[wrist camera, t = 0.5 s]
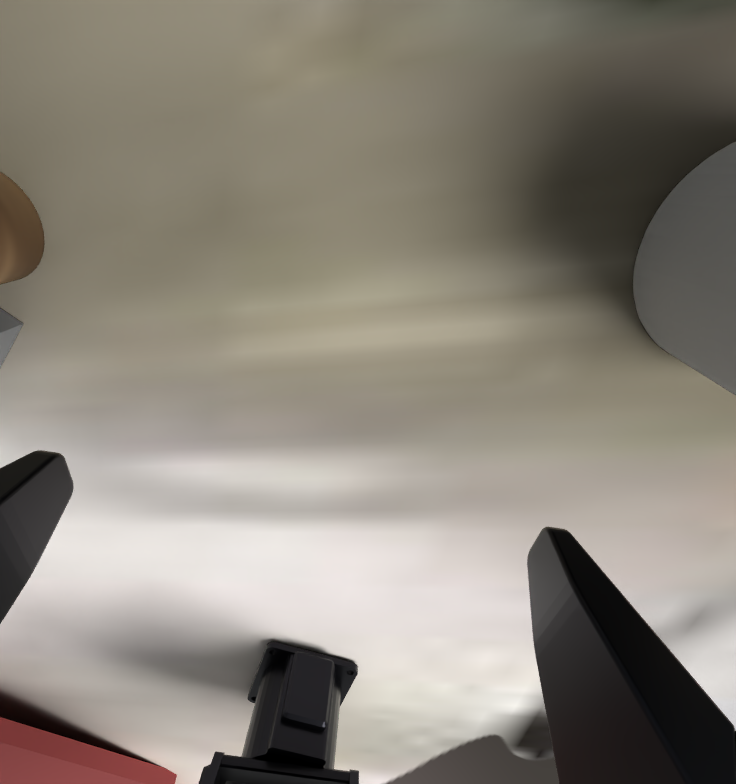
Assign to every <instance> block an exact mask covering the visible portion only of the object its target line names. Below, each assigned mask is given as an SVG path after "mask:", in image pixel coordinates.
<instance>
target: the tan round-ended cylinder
mask: <svg viewBox="0 0 736 784" xmlns="http://www.w3.org/2000/svg"><path fill="white" fill-rule="evenodd" d="M43 251H44V233H43V228H42V224H41V221H40V218H39V216H38V213H37V211H36V209H35V207H34V205H33V204H32V202H31V201H30V199H29V198H28V197H27V195H26V194H25V193H24V192H23V190H22V189H21V188H20V187H19V186H18V185H17V184H16V183H15V182H13V181H12V180H11V179H10V178H9V177H7V176H6V175H4V174H3V173H1V172H0V284H4V283H7V282H11V281H14V280H18V279H21V278H23V277H26V276H27V275H29V274H30V273H32V272H33V271H34V270H35V269H36V267H37V266H38V264H39V263H40V260H41V258H42V255H43Z"/></svg>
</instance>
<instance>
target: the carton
mask: <svg viewBox="0 0 736 784" xmlns="http://www.w3.org/2000/svg"><path fill="white" fill-rule="evenodd" d="M176 776H177V775H176V774H174V773H173V772H171V771H169V770H167V769H165V768H163V767H160V766H157V765H153V764H150V763H147V762H144V761H141V760H137V759H134V758H131V757H128V756H124V755H121V754H118V753H115V752H111V751H108V750H105V749H102V748H99V747H95V746H92V745H89V744H86V743H82V742H79V741H76V740H73V739H69V738H66V737H63V736H60V735H57V734H53V733H50V732H47V731H44V730H40V729H37V728H34V727H31V726H27V725H24V724H21V723H18V722H15V721H11V720H8V719H5V718H2V717H0V784H175V780H176Z"/></svg>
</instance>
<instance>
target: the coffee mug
mask: <svg viewBox="0 0 736 784" xmlns="http://www.w3.org/2000/svg"><path fill="white" fill-rule="evenodd" d="M633 295H634V300H635V305H636V310H637V313H638V316H639V319H640V321H641V323H642V324H643V326H644V328H645V329H646V331H647V333H648V334H649V336H650V337H651V338H652V339H653V340H654V341H655V343H656V344H658V345H659V346H660V347H661V348H662V349H664V350H665V351H666V352H668V353H669V354H671V355H673V356H674V357H676V358H677V359H679V360H681V361H682V362H684V363H685V364H687V365H688V366H690V367H692V368H693V369H695V370H696V371H698V372H700V373H701V374H703V375H704V376H706V377H707V378H709V379H711V380H712V381H714V382H715V383H717V384H718V385H720V386H722V387H723V388H725V389H726V390H728V391H730V392H731V393H733V394H734V395H736V141H735V142H733V143H731V144H729V145H728V146H726V147H724V148H723V149H721V150H719V151H717V152H716V153H714V154H713V155H711V156H710V157H708V158H707V159H705V160H704V161H703V162H702V163H701V164H699V165H698V166H697V167H696V168H694V169H693V170H692V171H691V172H690V173H688V174H687V175H686V176H685V177H684V178H683V179H682V180H681V181H680V182H679V183H678V184H677V186H676V187H675V188H674V189H673V190H672V191H671V193H670V194H669V195H668V196H667V198H666V199H665V200H664V201H663V203H662V204H661V206H660V207H659V209H658V210H657V211H656V213H655V215H654V217H653V218H652V220H651V222H650V224H649V226H648V228H647V230H646V232H645V234H644V237H643V239H642V242H641V245H640V248H639V250H638V254H637V258H636V262H635V266H634V276H633Z"/></svg>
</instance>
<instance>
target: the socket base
mask: <svg viewBox="0 0 736 784" xmlns="http://www.w3.org/2000/svg"><path fill="white" fill-rule="evenodd" d="M22 325H23V323H22V322H20V321H19V320H17V319H16V318H14V317H13V316H11V315H10V314H8V313H7V312H5V311H4V310H2V309H1V308H0V367H1V366H2V364H3V362H4V360H5V358H6V356H7V354H8V352H9V350H10V348H11V346H12V344H13V343H14V341H15V339H16V337H17V335H18V333H19V331H20V329H21V327H22Z"/></svg>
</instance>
